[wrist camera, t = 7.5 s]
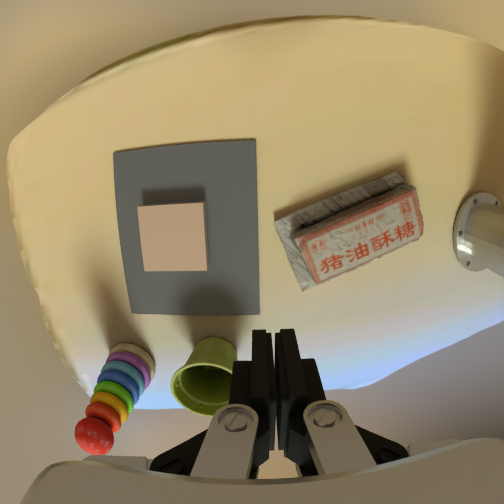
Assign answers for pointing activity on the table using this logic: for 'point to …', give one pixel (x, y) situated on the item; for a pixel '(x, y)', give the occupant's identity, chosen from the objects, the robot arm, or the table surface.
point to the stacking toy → (114, 397)
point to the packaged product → (350, 229)
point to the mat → (218, 226)
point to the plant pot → (205, 377)
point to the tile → (174, 236)
